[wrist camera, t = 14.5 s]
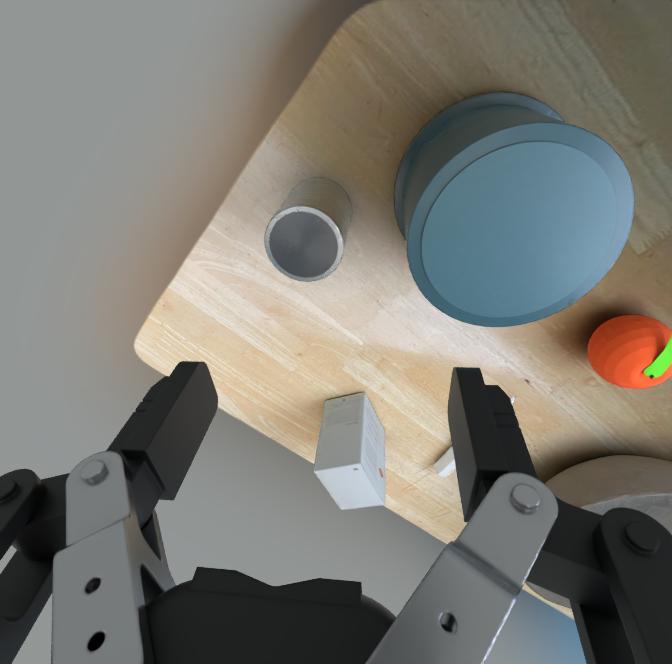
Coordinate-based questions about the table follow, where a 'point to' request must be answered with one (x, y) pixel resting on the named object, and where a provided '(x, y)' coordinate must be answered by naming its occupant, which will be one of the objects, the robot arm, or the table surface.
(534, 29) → the table surface
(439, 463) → the white pencil
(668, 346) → the clementine
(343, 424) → the small box
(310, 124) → the table surface
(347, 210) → the cup
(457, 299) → the blue flanged cylinder
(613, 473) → the bowl
